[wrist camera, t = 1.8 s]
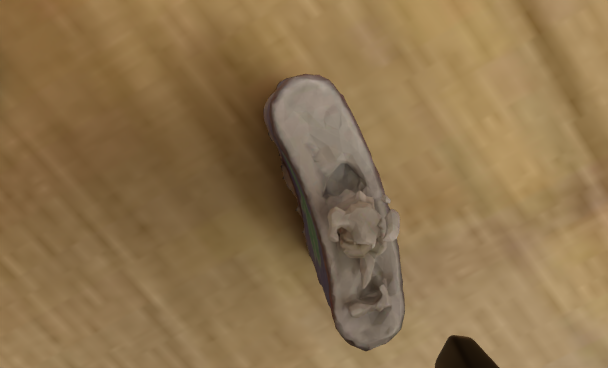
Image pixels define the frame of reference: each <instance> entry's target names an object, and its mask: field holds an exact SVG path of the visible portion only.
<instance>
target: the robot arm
mask: <svg viewBox="0 0 608 368" xmlns="http://www.w3.org/2000/svg"><path fill="white" fill-rule="evenodd" d="M435 368H499V367H498V366H497V365H496V364H495V362H494V361H493V360H492V359H491V358H490V357H489V356H488V355H487V354H486V353H485V352H484V351H483V350H482V348H481V347H480V346H479V345H478V344H477V343H476V342H475V341H474V340H473V339H471V338H469V337H465V336H456V335H452V336H450V337H449V338H448V339H447V341H446V343H445V345H444V347H443V349H442V350H441V352H440V354H439V356H438V358H437V360H436V363H435Z"/></svg>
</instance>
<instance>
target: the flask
mask: <svg viewBox="0 0 608 368" xmlns="http://www.w3.org/2000/svg"><path fill="white" fill-rule="evenodd" d="M264 121H265V124H266V126H267V128H268V135H269V136H270V139H271V140H272V141H274V142H275V144H276V146H277V147H278V151H279V155H280V156H281V161H282V165H281V168H282V171H283V173H284V177H283V179H284V180H285V181H286V183H287V187H288V188H289V189H290V191H292V193H293V194H294V195H295V196H296V197H297V200H298V207H297V209H296V211H298V213H299V214H300V215H301V217H302V219H303V222H304V231H303V232H302V233H304V235H305V239H306V245H307V247H308V250H309V254H310V256H311V258H312V261H313V263H314V266H315V269H316V272H317V277H318V280H319V283H320V284H321V285H322V287H323V290H324V293H325V296H326V299H327V302H328V304H329V306H330V308H331V312H332V317H333V320H334V323H335V327H336V329H337V330H338V332H339V333H340V335H341V336H342V337H343V338H344V339H345V341H346V342H347V343H349V344H350V345H352V346H354V347H357V348H359V349H361V350H364V351H368V350H371V349H373V348H375V347H378V346H380V345H383V344H386V343H387V342H389V341H390V340H391V339H392V338H393V337H394V336H395V335H396V334H397V333H398V332H399V331H400V330H401V328H402V323H403V318H404V314H405V304H404V293H403V280H402V274H401V266H400V256H399V246H398V243H397V236H398V234H399V229H400V216H399V213H398V212H397V211H395V210H394V209H391V210H390V208H389V206H388V203H390V199H389V198H388V197H387V196H386V195H385V193H384V189H383V186H382V182H381V179H380V175H379V173H378V171H377V169H376V167H375V165H374V163H373V161H372V157H371V153H370V151H369V149H368V147H367V144H366V142H365V140H364V138H363V135H362V133H361V131H360V129H359V126H358V124H357V122H356V120H355V118H354V116H353V114H352V112H351V110H350V109H349V107H348V105H347V103H346V101H345V99H344V96H343V95H342V94H340V93H339V92H338V90H337V89H336V87H335V86H334V85H333V84H332V83H331V82H330V80H328V79H326V78H324V77H322V76H320V75H310V74H303V75H299V76H295V77H291V78H286V79H285V80H283V81H281V82H280V83H279V84H278V86H277V89H276V91H275V92H274V93H273V94H271V95H270V97H269V98H268V100H267V102H266V104H265V107H264Z"/></svg>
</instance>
